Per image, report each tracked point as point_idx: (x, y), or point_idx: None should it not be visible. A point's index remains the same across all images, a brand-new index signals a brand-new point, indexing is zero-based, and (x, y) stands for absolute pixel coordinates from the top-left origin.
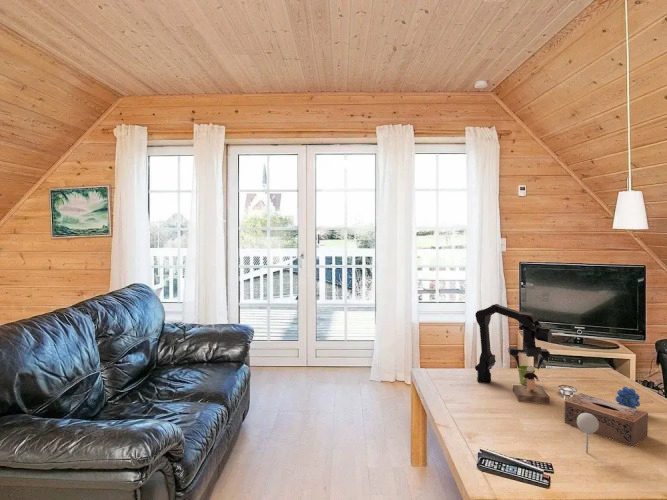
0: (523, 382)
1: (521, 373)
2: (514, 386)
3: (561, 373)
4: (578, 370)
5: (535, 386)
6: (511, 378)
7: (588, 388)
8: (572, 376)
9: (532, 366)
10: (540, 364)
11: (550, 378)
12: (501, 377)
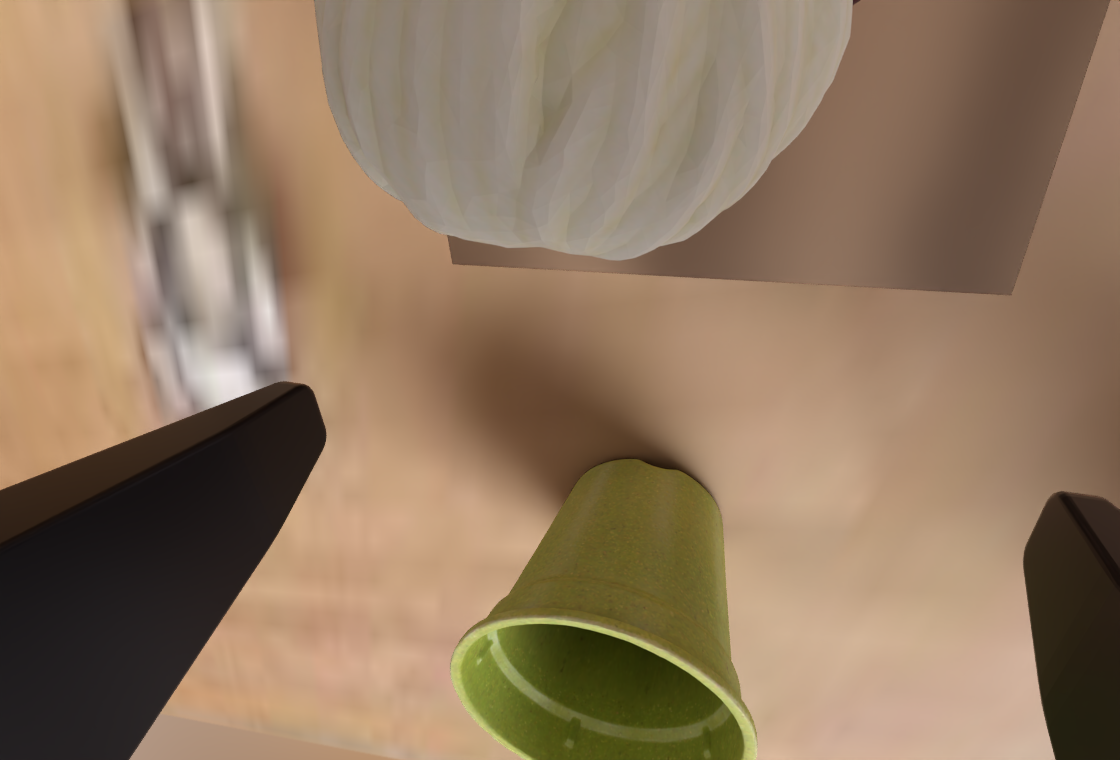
0: (691, 499)
1: (705, 619)
2: (1022, 200)
3: (303, 682)
4: (209, 704)
5: (556, 265)
6: (788, 651)
7: (68, 405)
8: (226, 629)
9: (338, 65)
10: (46, 478)
11: (379, 613)
12: (916, 687)
